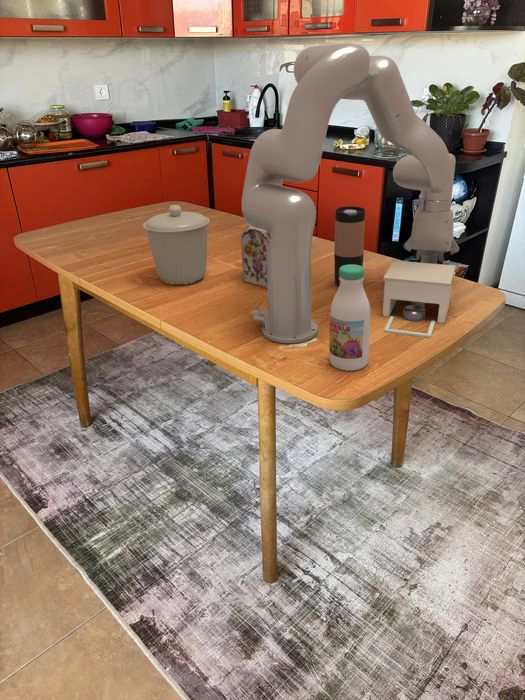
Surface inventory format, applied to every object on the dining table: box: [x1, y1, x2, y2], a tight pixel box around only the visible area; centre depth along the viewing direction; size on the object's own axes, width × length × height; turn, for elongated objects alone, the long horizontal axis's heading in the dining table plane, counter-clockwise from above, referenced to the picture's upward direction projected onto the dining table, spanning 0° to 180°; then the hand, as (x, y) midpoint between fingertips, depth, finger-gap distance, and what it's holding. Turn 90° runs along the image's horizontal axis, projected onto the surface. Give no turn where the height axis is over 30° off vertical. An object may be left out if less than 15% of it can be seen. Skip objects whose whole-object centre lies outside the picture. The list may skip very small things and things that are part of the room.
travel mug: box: [333, 205, 366, 288], centre depth 147 cm, size 8×8×20 cm
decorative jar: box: [240, 223, 272, 289], centre depth 152 cm, size 12×12×18 cm
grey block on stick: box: [411, 250, 439, 308], centre depth 142 cm, size 4×22×10 cm, turn 158°
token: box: [402, 304, 427, 323], centre depth 130 cm, size 5×5×2 cm
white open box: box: [382, 260, 456, 324], centre depth 132 cm, size 15×13×10 cm
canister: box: [142, 204, 211, 285], centre depth 155 cm, size 18×18×21 cm
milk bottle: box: [328, 264, 371, 372], centre depth 108 cm, size 8×8×20 cm
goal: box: [383, 315, 436, 339], centre depth 126 cm, size 10×8×1 cm
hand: (428, 273), depth 149 cm, fingers closed on grey block on stick, 4 cm apart
